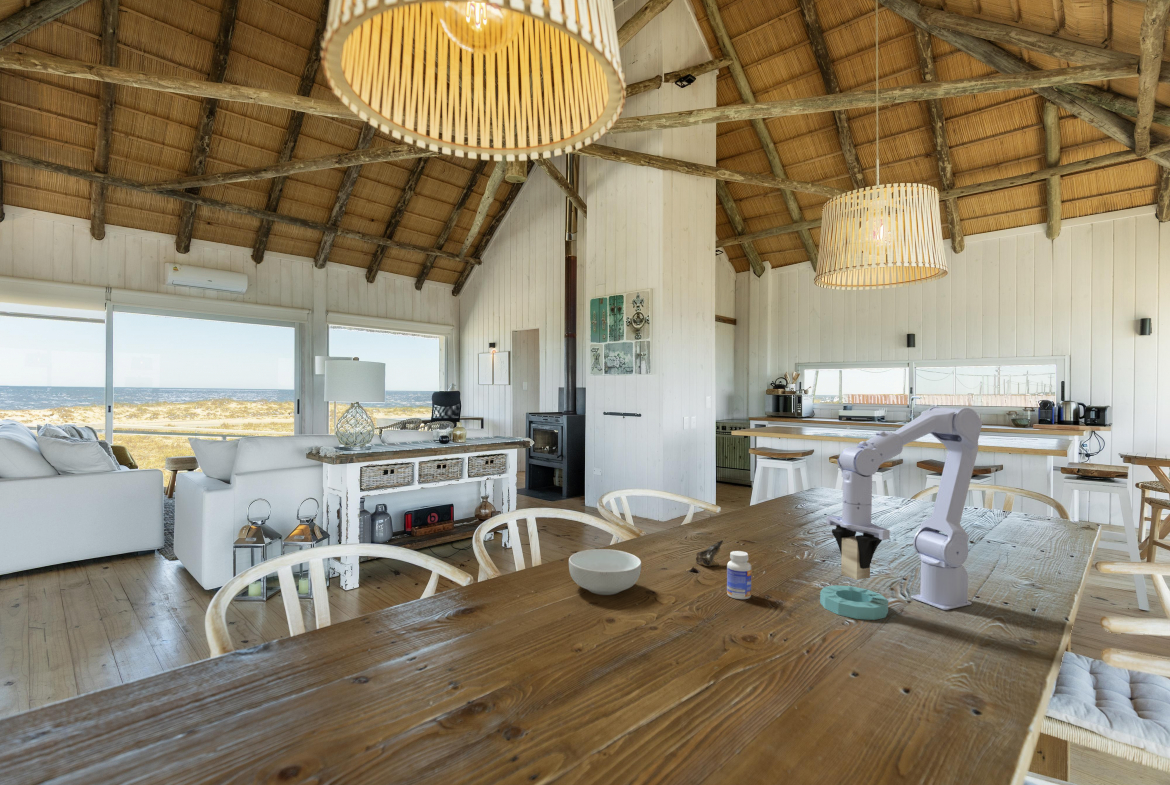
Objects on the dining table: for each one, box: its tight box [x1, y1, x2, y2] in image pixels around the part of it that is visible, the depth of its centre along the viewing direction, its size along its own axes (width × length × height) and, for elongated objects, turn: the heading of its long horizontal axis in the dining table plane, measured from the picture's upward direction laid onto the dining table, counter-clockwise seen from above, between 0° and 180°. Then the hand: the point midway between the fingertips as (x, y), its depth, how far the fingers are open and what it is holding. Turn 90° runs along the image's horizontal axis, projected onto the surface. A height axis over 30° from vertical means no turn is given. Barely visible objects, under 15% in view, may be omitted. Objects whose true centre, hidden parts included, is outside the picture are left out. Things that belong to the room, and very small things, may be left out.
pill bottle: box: [726, 550, 752, 600], centre depth 128 cm, size 5×5×10 cm
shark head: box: [695, 540, 724, 567], centre depth 151 cm, size 8×6×7 cm
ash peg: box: [840, 535, 871, 581], centre depth 122 cm, size 4×4×8 cm
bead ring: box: [819, 584, 889, 621], centre depth 122 cm, size 13×13×2 cm
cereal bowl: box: [568, 548, 642, 596], centre depth 131 cm, size 17×17×7 cm
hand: (855, 564), depth 122 cm, fingers closed on ash peg, 4 cm apart
